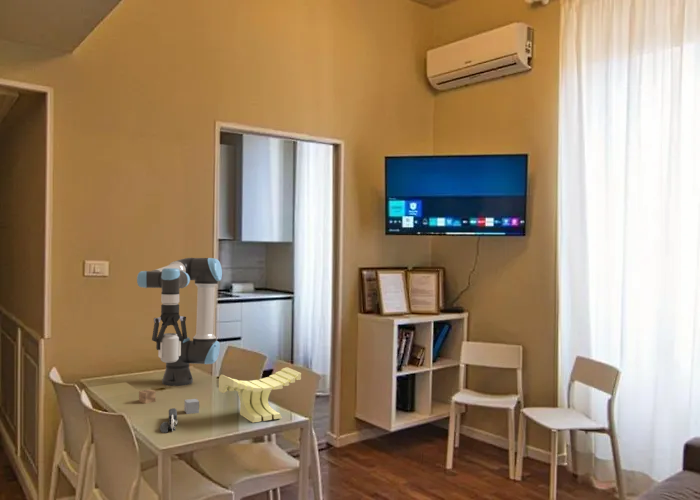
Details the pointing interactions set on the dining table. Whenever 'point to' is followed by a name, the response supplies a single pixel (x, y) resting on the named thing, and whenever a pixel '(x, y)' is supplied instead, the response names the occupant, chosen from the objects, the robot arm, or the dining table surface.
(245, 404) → the slatted curved stool
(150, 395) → the walnut block
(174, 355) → the can
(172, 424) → the can opener
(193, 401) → the slate grey block
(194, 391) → the dining table surface
